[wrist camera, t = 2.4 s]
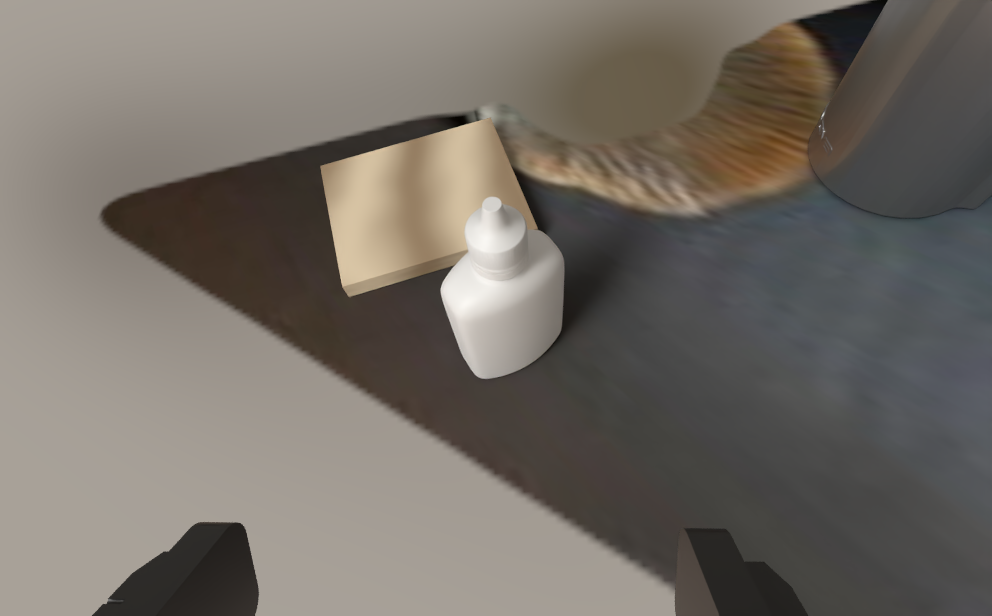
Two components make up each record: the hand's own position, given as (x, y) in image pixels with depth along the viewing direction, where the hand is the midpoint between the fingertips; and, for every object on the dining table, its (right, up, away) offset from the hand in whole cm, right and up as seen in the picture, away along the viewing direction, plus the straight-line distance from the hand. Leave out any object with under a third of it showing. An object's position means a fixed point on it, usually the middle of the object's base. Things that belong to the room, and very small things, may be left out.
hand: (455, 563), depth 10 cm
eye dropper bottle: (+2, +3, +20) cm, 20 cm away
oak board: (-4, +11, +25) cm, 28 cm away
